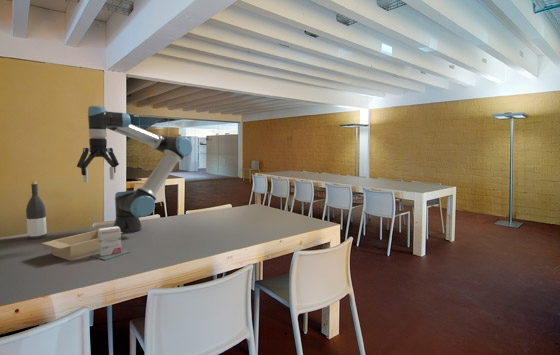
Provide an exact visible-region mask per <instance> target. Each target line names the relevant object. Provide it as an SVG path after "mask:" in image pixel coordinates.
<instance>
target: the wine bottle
mask: <svg viewBox="0 0 560 355" xmlns="http://www.w3.org/2000/svg"><path fill="white" fill-rule="evenodd" d="M30 187H31V197H30V198H29V200H28V202H27V204H26V209H25V213H26V214H25V215H26V217H25V218H26V231H27V238H28V239H29V240H40V239H44V238H46V237H47V214H46V206H45V203H44V201H43V200H42V199H41V197H40V196H39V192H38V191H39V190H38V188H39V187H38V181H36V180H35V181H34V180H33V181H31V186H30Z"/></svg>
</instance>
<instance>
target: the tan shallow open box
mask: <svg viewBox="0 0 560 355" xmlns="http://www.w3.org/2000/svg"><path fill="white" fill-rule="evenodd" d="M121 234H124V233H123V232H121ZM41 245H44V246H48V247H51V255H52V256H54V257H58V258H61V259H64V260H67V261H74V260H77V259H80V258H84V257H87V256H90V255H92V254H95V253H99V243H98V229H95V230H92V231H88V232H82V233H79V234H78V233H77V234H75V235H70V236H64V237H61V238H58V239H53V240H49V241H45V242H41Z"/></svg>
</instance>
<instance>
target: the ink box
mask: <svg viewBox="0 0 560 355" xmlns="http://www.w3.org/2000/svg"><path fill="white" fill-rule="evenodd" d="M97 230H98V243H99V252H98V253H99V254H100V256H106V255H111V254H116V253H121V250H122V235H121V234H122V233H121V230H120V228H119V227H118V226H116V227H113V226H111V227H110V226H109V227H101V228H97Z"/></svg>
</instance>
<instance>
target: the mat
mask: <svg viewBox="0 0 560 355" xmlns="http://www.w3.org/2000/svg"><path fill="white" fill-rule="evenodd" d="M129 253H131V252H130V251H129V250H124V249H121V253H116V254H111V255H106V256H100V254H99V252H98V253H95V254H91V255H89V256H90V257H93V258H97V259H99V260H101V261H109V260H111V259H113V258H114V259H115V258H118V257H120V256H123V255H127V254H129Z"/></svg>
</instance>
